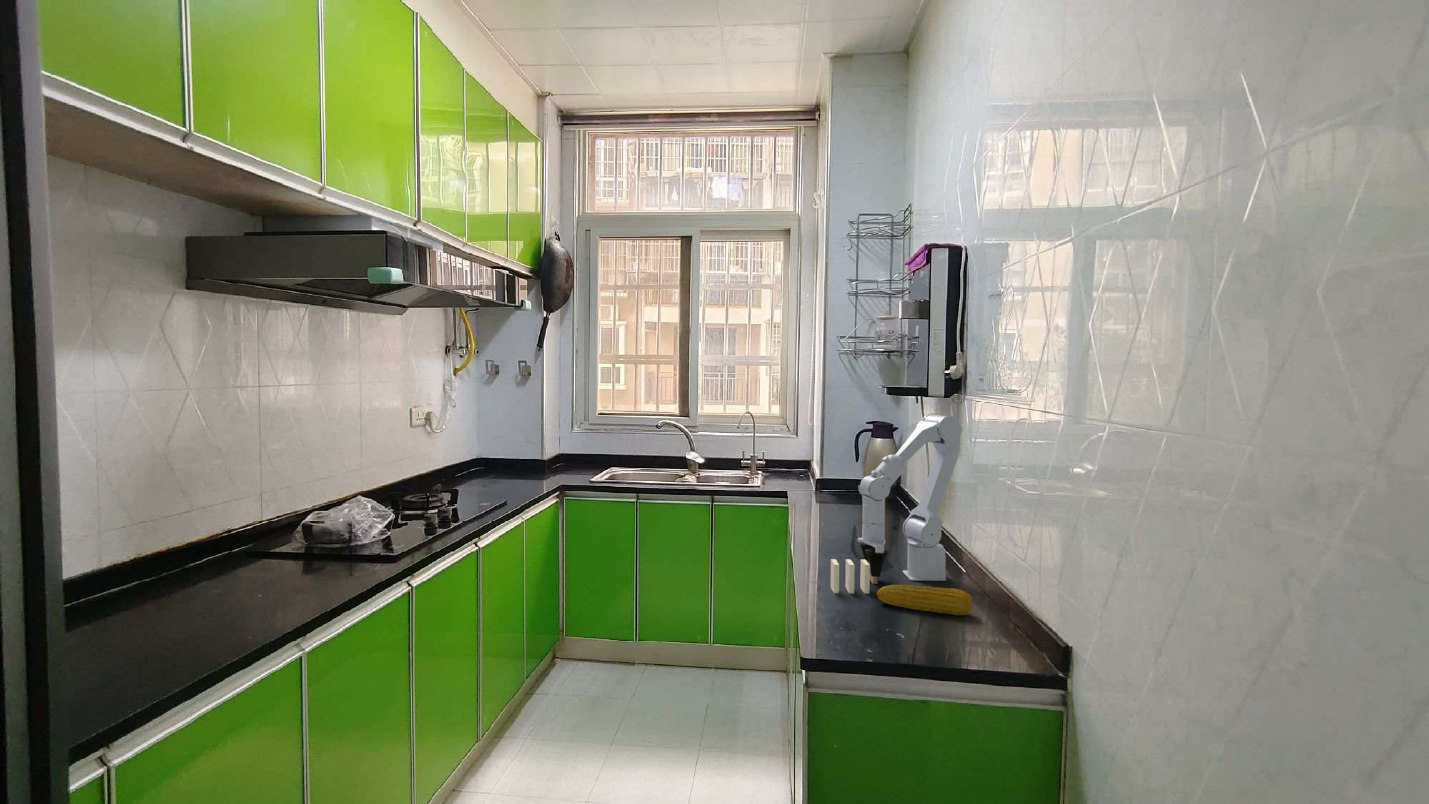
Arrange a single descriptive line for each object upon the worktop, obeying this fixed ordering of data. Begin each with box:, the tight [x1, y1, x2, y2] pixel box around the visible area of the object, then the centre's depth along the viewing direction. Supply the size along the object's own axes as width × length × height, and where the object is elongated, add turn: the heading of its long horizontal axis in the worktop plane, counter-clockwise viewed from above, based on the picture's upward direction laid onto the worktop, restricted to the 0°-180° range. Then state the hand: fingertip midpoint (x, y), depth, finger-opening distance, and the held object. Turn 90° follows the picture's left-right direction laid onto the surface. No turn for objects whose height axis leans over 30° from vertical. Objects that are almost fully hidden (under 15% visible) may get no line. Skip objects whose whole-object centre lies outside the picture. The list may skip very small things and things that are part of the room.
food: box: [876, 584, 973, 616], centre depth 154 cm, size 21×6×6 cm, turn 66°
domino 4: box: [870, 573, 879, 585], centre depth 176 cm, size 1×5×7 cm, turn 0°
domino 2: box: [845, 558, 855, 594], centre depth 168 cm, size 1×5×7 cm, turn 0°
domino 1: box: [830, 558, 840, 594], centre depth 168 cm, size 1×5×7 cm, turn 0°
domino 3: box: [859, 558, 871, 595], centre depth 168 cm, size 1×5×7 cm, turn 0°
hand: (872, 573), depth 176 cm, fingers closed on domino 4, 5 cm apart
